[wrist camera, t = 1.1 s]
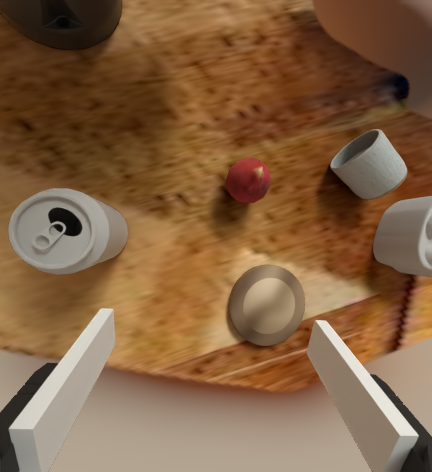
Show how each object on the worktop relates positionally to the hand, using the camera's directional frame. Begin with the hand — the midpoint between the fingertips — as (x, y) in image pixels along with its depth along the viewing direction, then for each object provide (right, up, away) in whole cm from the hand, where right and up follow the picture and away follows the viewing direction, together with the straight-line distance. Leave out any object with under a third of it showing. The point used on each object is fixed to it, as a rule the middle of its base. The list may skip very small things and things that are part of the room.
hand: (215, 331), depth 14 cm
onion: (+4, +14, +19) cm, 24 cm away
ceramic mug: (+23, +18, +23) cm, 38 cm away
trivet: (+8, -4, +20) cm, 22 cm away
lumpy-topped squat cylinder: (+34, +7, +26) cm, 43 cm away
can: (-15, +7, +15) cm, 22 cm away
